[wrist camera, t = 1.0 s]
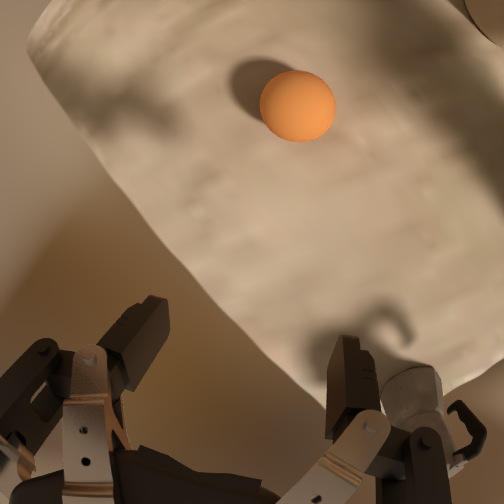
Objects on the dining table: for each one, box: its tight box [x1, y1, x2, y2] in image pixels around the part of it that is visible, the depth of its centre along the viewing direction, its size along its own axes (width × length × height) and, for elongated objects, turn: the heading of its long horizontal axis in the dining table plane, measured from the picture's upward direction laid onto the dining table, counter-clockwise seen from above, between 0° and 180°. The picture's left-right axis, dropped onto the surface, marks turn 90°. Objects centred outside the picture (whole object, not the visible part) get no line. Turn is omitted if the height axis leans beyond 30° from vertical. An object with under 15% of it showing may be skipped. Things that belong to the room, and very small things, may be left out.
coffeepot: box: [380, 367, 487, 478], centre depth 23 cm, size 15×9×18 cm, turn 158°
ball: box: [260, 70, 336, 142], centre depth 19 cm, size 6×6×6 cm
